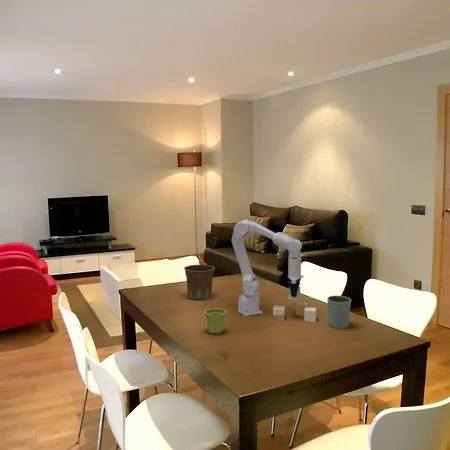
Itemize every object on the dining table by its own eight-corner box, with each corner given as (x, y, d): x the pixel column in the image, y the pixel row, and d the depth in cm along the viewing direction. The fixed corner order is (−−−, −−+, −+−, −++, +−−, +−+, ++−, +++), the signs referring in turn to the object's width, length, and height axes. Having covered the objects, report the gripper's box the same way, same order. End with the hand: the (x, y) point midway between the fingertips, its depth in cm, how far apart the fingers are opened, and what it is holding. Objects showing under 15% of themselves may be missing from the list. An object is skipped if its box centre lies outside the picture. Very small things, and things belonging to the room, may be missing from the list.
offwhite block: (315, 321, 205) (315, 311, 205) (304, 321, 206) (304, 310, 206) (315, 318, 210) (315, 307, 209) (304, 317, 211) (304, 307, 210)
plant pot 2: (210, 337, 187) (210, 316, 186) (200, 329, 195) (200, 310, 194) (230, 333, 191) (230, 313, 190) (220, 326, 200) (220, 307, 199)
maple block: (284, 320, 208) (284, 309, 207) (272, 319, 209) (273, 308, 208) (284, 316, 213) (284, 306, 212) (274, 316, 214) (274, 305, 213)
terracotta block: (306, 316, 213) (307, 305, 213) (296, 315, 214) (296, 305, 214) (307, 312, 218) (307, 302, 218) (296, 312, 219) (296, 302, 219)
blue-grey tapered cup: (334, 320, 207) (335, 294, 206) (355, 325, 200) (355, 298, 199) (322, 325, 200) (322, 298, 199) (342, 331, 193) (343, 303, 192)
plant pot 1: (220, 295, 248) (220, 266, 246) (203, 303, 234) (203, 272, 232) (196, 291, 256) (196, 263, 254) (178, 298, 243) (177, 268, 241)
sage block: (299, 300, 209) (299, 289, 209) (288, 299, 210) (288, 289, 210) (300, 297, 214) (300, 287, 214) (289, 296, 215) (289, 286, 215)
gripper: (303, 269, 203) (302, 299, 204) (304, 263, 217) (303, 291, 218) (286, 269, 204) (286, 299, 206) (288, 262, 218) (288, 290, 220)
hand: (294, 295), depth 212 cm, fingers closed on sage block, 5 cm apart
